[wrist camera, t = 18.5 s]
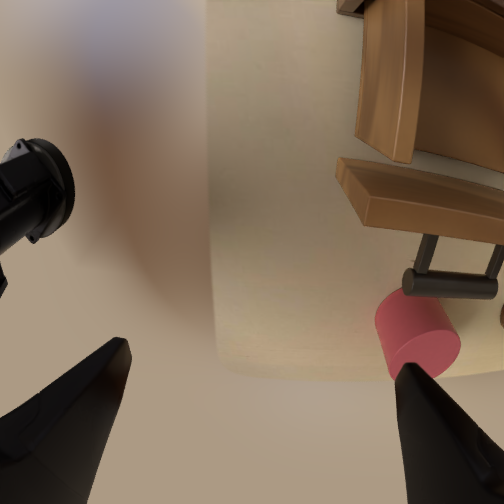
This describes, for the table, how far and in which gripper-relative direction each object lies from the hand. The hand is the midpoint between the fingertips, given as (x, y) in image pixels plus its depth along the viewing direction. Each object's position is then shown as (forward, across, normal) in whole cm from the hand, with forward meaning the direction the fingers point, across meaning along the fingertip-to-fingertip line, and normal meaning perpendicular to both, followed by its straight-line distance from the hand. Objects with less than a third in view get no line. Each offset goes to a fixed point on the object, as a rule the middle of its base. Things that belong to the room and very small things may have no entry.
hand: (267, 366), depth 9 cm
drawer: (+11, -10, -6) cm, 16 cm away
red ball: (+11, -11, +6) cm, 17 cm away
